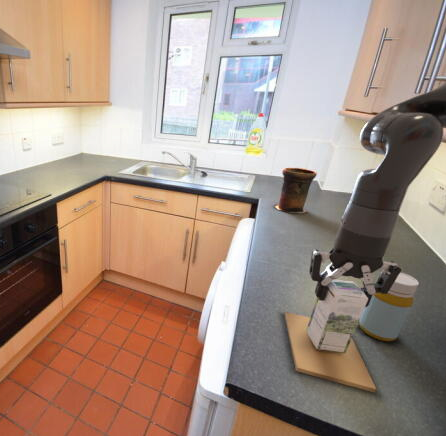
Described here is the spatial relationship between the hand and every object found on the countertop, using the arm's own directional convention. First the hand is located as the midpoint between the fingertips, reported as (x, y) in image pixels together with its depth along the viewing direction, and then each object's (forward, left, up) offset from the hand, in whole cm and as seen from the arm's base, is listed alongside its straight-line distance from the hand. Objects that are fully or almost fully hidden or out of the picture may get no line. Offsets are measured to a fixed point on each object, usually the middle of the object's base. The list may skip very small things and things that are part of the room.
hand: (339, 302), depth 60 cm
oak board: (0, 0, -12) cm, 12 cm away
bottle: (-13, -11, -12) cm, 21 cm away
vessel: (-7, -101, -12) cm, 102 cm away
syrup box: (0, 0, -11) cm, 11 cm away
